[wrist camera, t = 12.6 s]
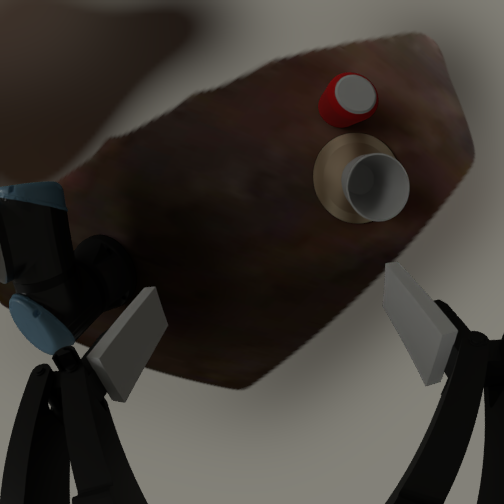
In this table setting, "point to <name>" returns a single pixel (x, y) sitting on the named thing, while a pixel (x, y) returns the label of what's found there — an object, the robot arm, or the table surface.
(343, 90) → the beverage can
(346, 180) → the cup
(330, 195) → the plate
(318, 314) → the table surface
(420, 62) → the table surface
